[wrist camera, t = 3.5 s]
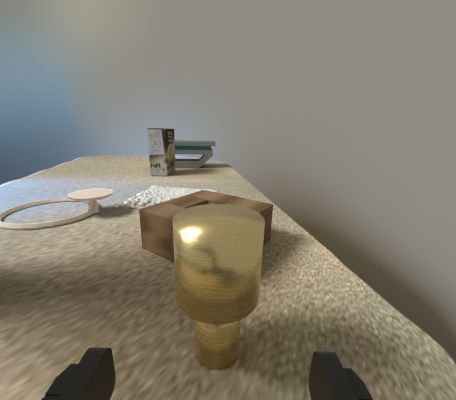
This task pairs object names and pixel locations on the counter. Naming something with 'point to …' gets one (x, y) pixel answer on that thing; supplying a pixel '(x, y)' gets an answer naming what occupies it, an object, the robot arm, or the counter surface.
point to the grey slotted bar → (193, 152)
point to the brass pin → (217, 275)
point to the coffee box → (161, 151)
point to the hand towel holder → (77, 196)
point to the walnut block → (164, 212)
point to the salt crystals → (159, 195)
